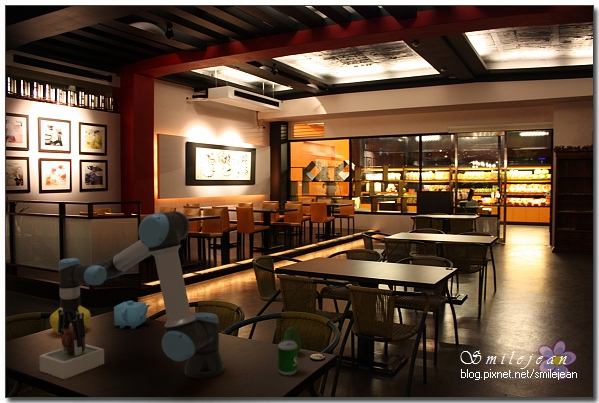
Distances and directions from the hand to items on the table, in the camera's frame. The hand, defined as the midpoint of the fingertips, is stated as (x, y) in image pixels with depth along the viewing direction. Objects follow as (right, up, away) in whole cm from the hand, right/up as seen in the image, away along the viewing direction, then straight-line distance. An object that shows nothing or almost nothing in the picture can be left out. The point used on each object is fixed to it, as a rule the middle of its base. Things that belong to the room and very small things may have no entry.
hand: (72, 352), depth 203 cm
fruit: (+89, -5, +13) cm, 90 cm away
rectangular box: (0, -6, 0) cm, 6 cm away
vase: (-21, -4, +45) cm, 49 cm away
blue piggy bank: (+8, -3, +55) cm, 55 cm away
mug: (+1, 0, 0) cm, 1 cm away
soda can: (+88, -6, -6) cm, 88 cm away
